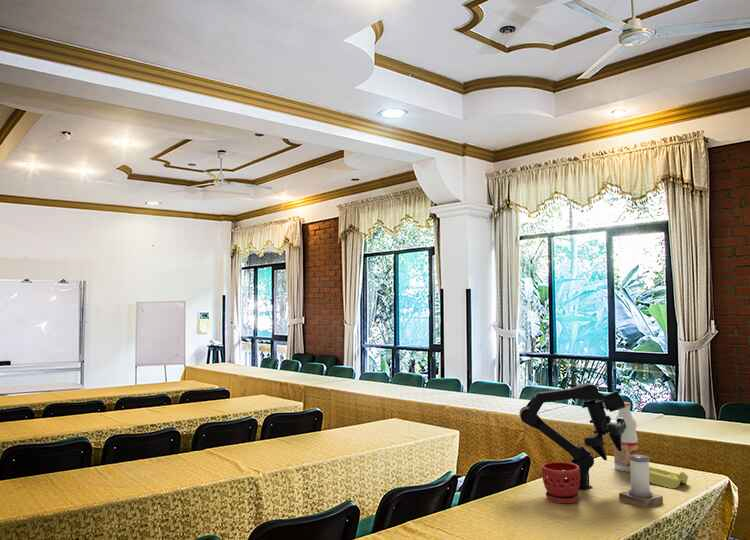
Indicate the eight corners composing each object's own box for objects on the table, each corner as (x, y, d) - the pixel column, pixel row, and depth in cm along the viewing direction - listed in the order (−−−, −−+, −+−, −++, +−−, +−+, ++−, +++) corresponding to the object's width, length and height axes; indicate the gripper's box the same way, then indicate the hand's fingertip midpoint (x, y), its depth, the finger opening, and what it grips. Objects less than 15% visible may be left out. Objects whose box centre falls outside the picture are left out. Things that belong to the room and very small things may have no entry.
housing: (635, 498, 202) (634, 459, 203) (624, 491, 210) (623, 454, 210) (656, 497, 203) (655, 459, 204) (645, 490, 210) (643, 453, 211)
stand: (644, 508, 199) (644, 500, 199) (619, 500, 208) (619, 493, 208) (662, 503, 204) (662, 496, 204) (637, 495, 213) (637, 488, 213)
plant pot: (564, 492, 217) (563, 459, 218) (589, 503, 204) (588, 468, 205) (534, 496, 212) (534, 462, 213) (557, 507, 200) (556, 471, 201)
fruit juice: (615, 465, 255) (613, 400, 257) (639, 468, 250) (636, 401, 253) (613, 470, 246) (611, 403, 248) (638, 473, 242) (635, 404, 244)
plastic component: (689, 477, 228) (681, 470, 222) (686, 496, 225) (677, 490, 219) (638, 464, 242) (629, 457, 236) (634, 481, 240) (625, 475, 234)
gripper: (600, 422, 212) (616, 465, 211) (630, 406, 223) (645, 446, 221) (576, 424, 222) (591, 465, 220) (606, 408, 232) (620, 446, 230)
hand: (613, 455), depth 222 cm, fingers open, 9 cm apart
